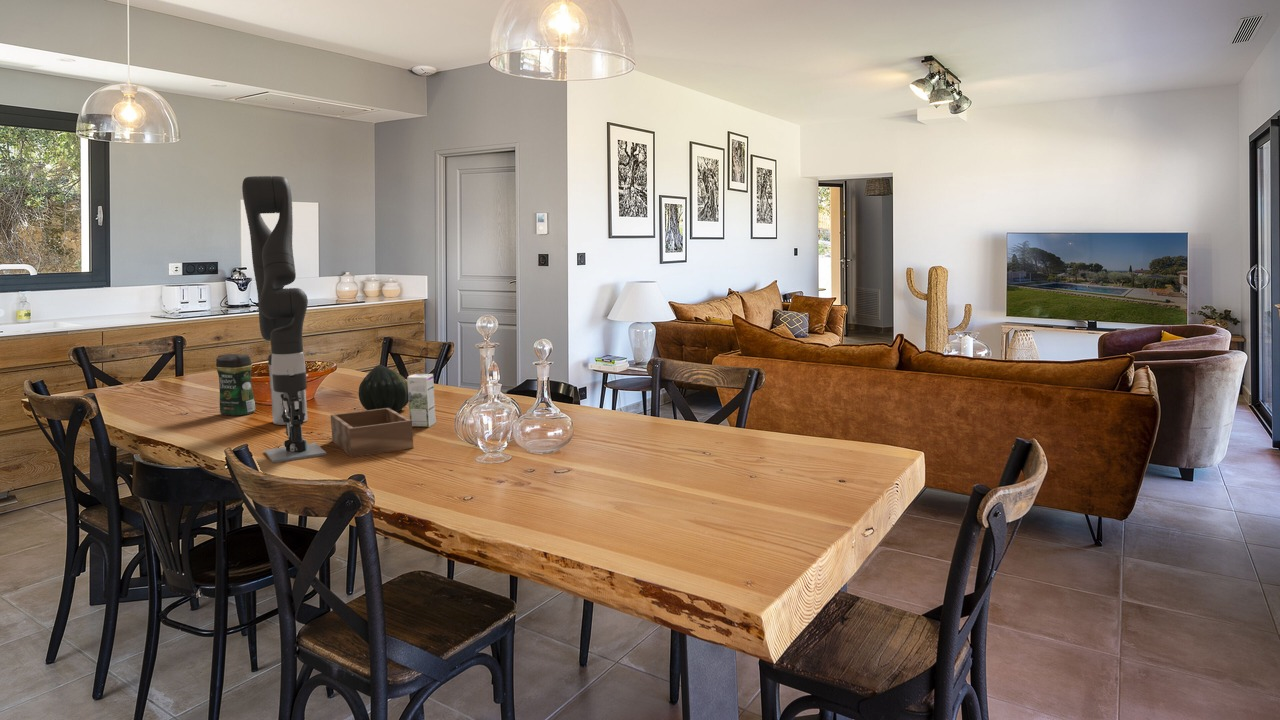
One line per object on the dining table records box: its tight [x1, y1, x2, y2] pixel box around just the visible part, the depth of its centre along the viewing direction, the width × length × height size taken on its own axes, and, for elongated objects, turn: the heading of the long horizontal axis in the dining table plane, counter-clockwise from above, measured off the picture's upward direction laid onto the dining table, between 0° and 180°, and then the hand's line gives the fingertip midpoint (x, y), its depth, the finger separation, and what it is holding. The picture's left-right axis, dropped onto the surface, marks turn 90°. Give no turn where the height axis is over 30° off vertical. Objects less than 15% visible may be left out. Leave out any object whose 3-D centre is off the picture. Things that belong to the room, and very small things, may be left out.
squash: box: [358, 364, 409, 413], centre depth 244 cm, size 14×15×15 cm
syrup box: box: [406, 373, 437, 428], centre depth 223 cm, size 6×6×14 cm
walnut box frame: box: [330, 408, 414, 458], centre depth 202 cm, size 20×15×7 cm
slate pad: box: [264, 442, 327, 464], centre depth 194 cm, size 12×12×1 cm
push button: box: [280, 411, 307, 452], centre depth 194 cm, size 7×5×10 cm
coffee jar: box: [215, 353, 256, 417], centre depth 242 cm, size 10×8×19 cm
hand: (294, 438), depth 193 cm, fingers open, 6 cm apart
